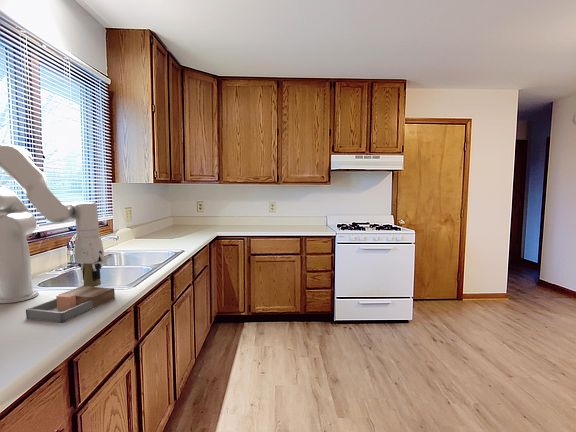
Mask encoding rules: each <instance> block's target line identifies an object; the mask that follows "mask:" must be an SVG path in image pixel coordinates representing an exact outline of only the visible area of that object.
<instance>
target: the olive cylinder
mask: <svg viewBox="0 0 576 432" xmlns="http://www.w3.org/2000/svg"><path fill="white" fill-rule="evenodd" d="M83 265H84V266H85V270H84V280H83V285H82V286H91V287H99V286H101V284H102V283H101V278H100V279H97V280H96V281H93V277H92V271H94V270H93V267H92V264H83ZM96 266H97V264H96Z"/></svg>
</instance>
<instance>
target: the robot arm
mask: <svg viewBox="0 0 576 432" xmlns="http://www.w3.org/2000/svg"><path fill="white" fill-rule="evenodd" d="M0 168H1V169H2V170H3V171H4V172H5V173H6V174H7V175H8V176H9V177H10V178H11V179H12V180H13V181H15V183H16V184H17V185H18V186H19V187H21V189H22V190H23V192H24V194H25V196H26V197H27V199H28V200H29V202H30V203H31V205H32V206H33V207H34V208H35V210H37V211H38V212H39V214H41V215H42V216H43V217H44V218H45V219H46V220H47V221H48V222H50V223H52V224H55V225H56V224H58V225H59V224H63V223H64V224H65V223H67V222H72V221H75V229H76V231H75V234H76V237H75V239H74V250H73V252H74V253H73V254H74V263H75V264H77V266H78V267H80V271H82V273H81V274H82V280H83V281H84V270H85V266H84V265H83V264H92V267H93V270H94V271H92V277H93V281H96V280H97V279H100V280H101V269H102V268H103V266H104V265H106V264H107V260H106V259H105V253H104V247H103V241H102V238H101V236H100V227H99V226H100V225H99V215H98V214H99V213H98V205H97V203H96V202H94V201H82V202H71V201H70V202H69V201H68V202H67V201H65V202H64V201H63V202H62V201H60V199H58V197H56V195H54V193H53V192H52V191H51V189H50V188H49V186H48V183H47V182H48V179H47V176H46V175H45V173H43V171H41V170H40V168H38V166H36V165H35V163H34V162H33V156H32V154H31V153H30V151H29V150H27V149H26V148H24V147H21V146H17V145H13V144H0ZM36 228H37V220H36V218H35V216H34V214H33V213H32V212H31V211H30V209H29V208H28V207H27V206H26V205H25V203H24V202H23V201H22V199H21V198H20V196H18V195H17V194H16V193H15V192H14V191H12V190H10V189H8V188H6V187H0V304H11V303H20V302H24V301H28V300H31V299H33V298H36V297H38V295H39V291H38V290H36V289H34V285H33V274H32V264H31V253H30V246H29V243H28V242H29V241H28V239H27V236H28V235H31V234H32V233H33V232H34V231H35V230H36ZM96 264H97V266H96Z"/></svg>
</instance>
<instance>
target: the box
mask: <svg viewBox="0 0 576 432" xmlns="http://www.w3.org/2000/svg"><path fill="white" fill-rule="evenodd" d="M91 310H93V303H92V300H90V301H87V302H85V303H82V304H80V305H78V306H75V307H73V308H70V309H68V310H66V311H57V300H56V298H53V299H51V300H48V301H45V302H43V303H39V304H37V305H34V306H32V307H31V306H30V307H29V308H27V309H25V318H26V319H27V320H36V321H43V322H44V321H45V322H51V323H52V322H53V323H62V324H63V323H65V322H68V321H69V320H71V319H73V318H76V317H79V316H80V315H83V314H85V313H86V312H89V311H91Z"/></svg>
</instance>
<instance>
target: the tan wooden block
mask: <svg viewBox="0 0 576 432" xmlns="http://www.w3.org/2000/svg"><path fill="white" fill-rule="evenodd" d="M61 294H72V295H76V306H78V305H80V304H82V303H85V302H87V301H90V300H92V303H93V308H94V309H96V308H99V307H100V305H101V306H102V304H103V305H105V304H107V303H110V302H112V301H114V300H115V299H116V295H115V288H114V287H103V286H95V287H91V286H83V285H82V286H78V287H76V288H73V289H70V290H67V291H65V292H62V293H60V294H59V293H58V295H61Z"/></svg>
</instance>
